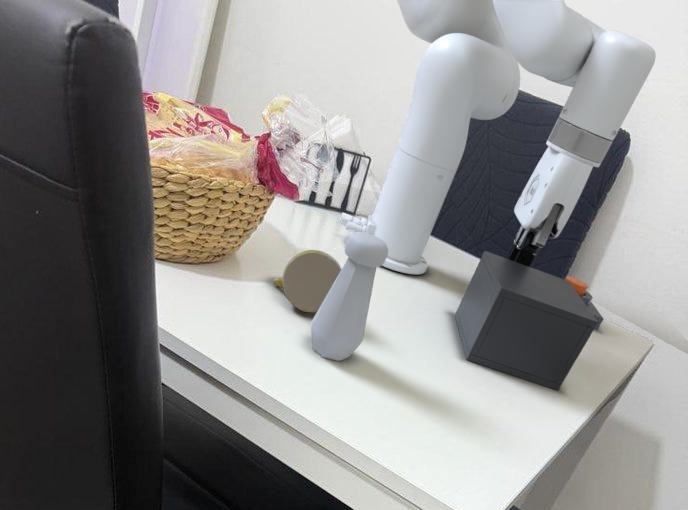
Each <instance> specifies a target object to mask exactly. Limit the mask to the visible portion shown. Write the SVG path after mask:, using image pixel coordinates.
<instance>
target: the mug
mask: <svg viewBox="0 0 688 510" xmlns="http://www.w3.org/2000/svg"><path fill="white" fill-rule="evenodd" d="M341 270H342V268H341V266H340V263H339V262H338V261H337V259H335V258H334V257H333V256H331V254H329V253H326V252H325V251H322V250H318V249H308V250H303V251H300V252H299V253H297V254H295V255H294V256H293V257H292V258H291V259H290V260H289V261H288V262H287V264H286V266H285V267H284V270H283V274H282V276H280V277H276V278H274V279H273V283H274V285H275V286H276V287H282V289H283V292H284V294H285V297H286V299H287V300H288V301H289V303H291V305H292V306H294V307H295V308H297V309H298V310H299V311H302V312H305V313H309V314H310V313H312V314H313V313H314V314H316V313H317V311H318V309H319V308H320V306H321V304H322V303H323V301H324V299H325V297H326V296H327V294H328V292H329V290H330V289H331V287H332V285H333V283H334V282H335V280H336V278H337V277H338V275H339V273H340V271H341Z"/></svg>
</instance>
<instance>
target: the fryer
mask: <svg viewBox="0 0 688 510" xmlns="http://www.w3.org/2000/svg"><path fill="white" fill-rule="evenodd" d="M454 318H455V322H456V326H457V329H458V334H459V336H460V341H461V344H462V348H463V352H464V356H465V359H466V361H469V362H472V363H475V364H478V365H481V366H484V367H486V368H490V369H493V370H496V371H498V372H502V373H505V374H507V375H511V376H514V377H516V378H518V379H523V380H525V381H528V382H531V383H533V384H534V383H535V384H537V385H540V386H544V387H547V388H549V389H552V390H555V391H559V390H560V389H561V386H562V385H563V383H564V382H565V380H566V378H567V376H568V375H569V373H570V372H571V369H572V368H573V366H574V364H575V363H576V361H577V360H578V357H579V356H580V354H581V353H582V351H583V350H584V348H585V346H586V344H587V342H588V341H589V339H590V337H591V336H592V334H593V332H594V331H595V329H594V328H595V327H596V325H597V323H598V322H597V320H596V319H595V317H594V316H593V314H592V313H591V312H590V310H589V309H588V307H587V306H586V304H585V303H584V302H583V300H582V299H581V297H580V296H579V295H578V293H577V292H576V290H575V289H574V287H573V286H572V285H571V283H570V282H569V281H567V280H565V278H561V277H558V276H556V275H553V274H550V273H548V272H545V271H542V270H539V269H536V268H533V267H531V266H530V267H528V266H525V265H523V264H520V263H517V262H514V261H512V260H509V259H506V257H504V256H500V255H498V254H495V253H492V252H489V251H487V250H484V251H483V253H482V255H481V257H480V259H479V262H478V264H477V266H476V268H475V271H474V272H473V275H472V277H471V278H470V281H469V284H468V286H467V288H466V289H465V293H464V294H463V296H462V299H461V301H460V303H459V305H458V307H457V310H456V312H455V313H454Z"/></svg>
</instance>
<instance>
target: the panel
mask: <svg viewBox="0 0 688 510" xmlns="http://www.w3.org/2000/svg"><path fill="white" fill-rule="evenodd" d="M578 295H579V294H578ZM579 296H580V297H581V299H582V300H583V302H584V303H585V304H586V306H587V307H588V309H589V310H590V312H591V313H592V314H593V316H594V317H595V319H596V320H597V322H598V323H597V325H596V327H595V328H594V331H598V330H599V328H600V326H601V325H602V323H603V321H604V317H603V316H602V314H601V313H600V312H599V310H598V309H597V308H596V306H595V305H594V303H593V302H592V300H593V296H592V294H591V293H589V292H588V291H587V290H586V292H585V294H584V296H583V295H579Z"/></svg>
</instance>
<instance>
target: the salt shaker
mask: <svg viewBox="0 0 688 510" xmlns="http://www.w3.org/2000/svg"><path fill="white" fill-rule="evenodd" d="M344 254H345V255H346V257H347V259H346V261H345V262H344V265H343V266H342V268H341V269H342V270H341V271H340V273H339V275H338V277H337V278H336V280H335V282H334V283H333V285H332V287H331V289H330V290H329V292H328V294H327V296H326V297H325V299H324V301H323V303H322V304H321V306H320V308H319V309H318V311H317V313H315V315H314V316H313V318H312V320H311V321H310V334H311V336H310V337H311V348H312V350H313V351H315V352H316V353H317V354H319V355H320V356H321V357H322V358H325V359H329V360H332V361H336V362H341V361H344V360H346V359H348V358H349V357H350V356H351V355H352V354H353V353H354V352H355V351H356V350H357V349H358V348H359V347H360V346H361V344H362V343H363V342H364V341H363V340H364V337H365V336H364V335H365V330H366V324H367V319H368V315H369V314H368V313H369V309H370V304H371V298H372V293H373V288H374V287H373V286H374V283H375V277H376V272H377V268H380V267H383V266H382V265H383V263H384V262H385V260H386V258H387V254H388V248H387V245H386V243H385V242H384V241H383V240H381V239H380V238H378V237H376V236H374V235H372V234H369V233H365V232H352V233H351V234H349V236H348V237H347V239H346V242H345V245H344Z"/></svg>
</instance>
